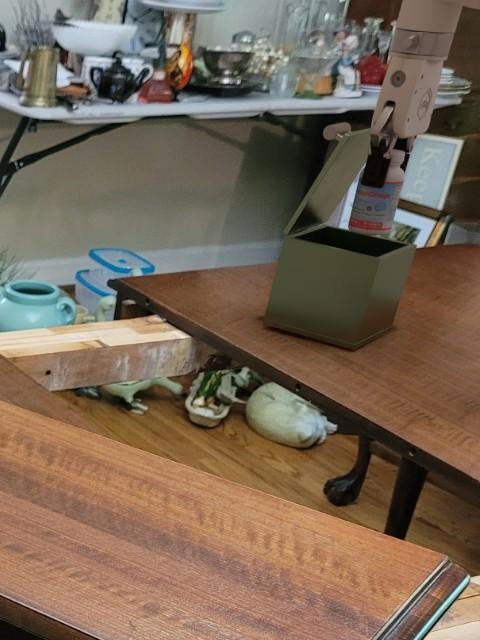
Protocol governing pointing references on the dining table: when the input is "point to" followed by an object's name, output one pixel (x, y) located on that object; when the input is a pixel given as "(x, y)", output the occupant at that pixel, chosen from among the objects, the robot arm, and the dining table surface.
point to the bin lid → (332, 177)
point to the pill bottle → (378, 201)
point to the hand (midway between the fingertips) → (381, 182)
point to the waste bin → (338, 285)
